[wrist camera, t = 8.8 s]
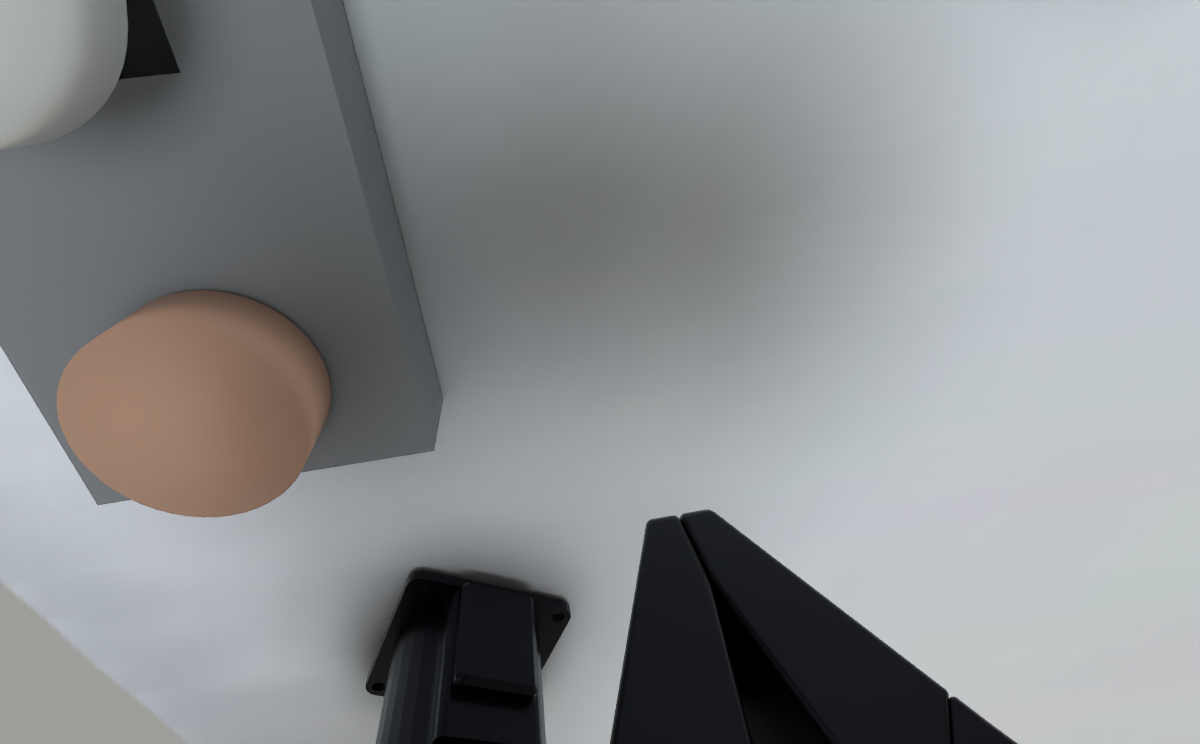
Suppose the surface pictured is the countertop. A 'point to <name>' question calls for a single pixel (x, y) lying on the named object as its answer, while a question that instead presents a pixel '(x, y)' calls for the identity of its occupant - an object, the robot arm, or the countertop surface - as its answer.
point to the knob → (196, 404)
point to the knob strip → (227, 219)
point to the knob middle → (57, 65)
